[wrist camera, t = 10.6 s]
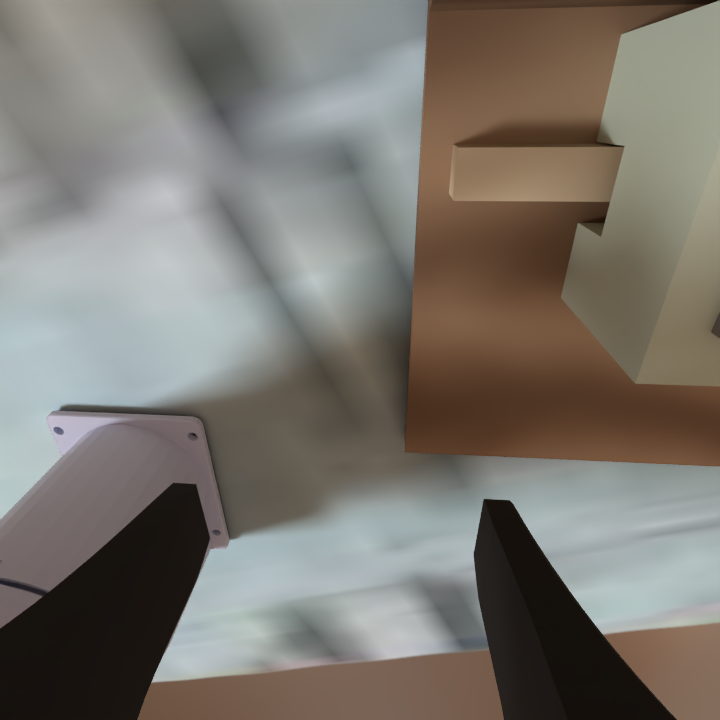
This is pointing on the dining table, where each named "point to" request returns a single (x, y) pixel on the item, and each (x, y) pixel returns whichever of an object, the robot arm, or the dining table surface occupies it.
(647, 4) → the wall board
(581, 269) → the cabinet block
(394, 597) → the dining table surface
